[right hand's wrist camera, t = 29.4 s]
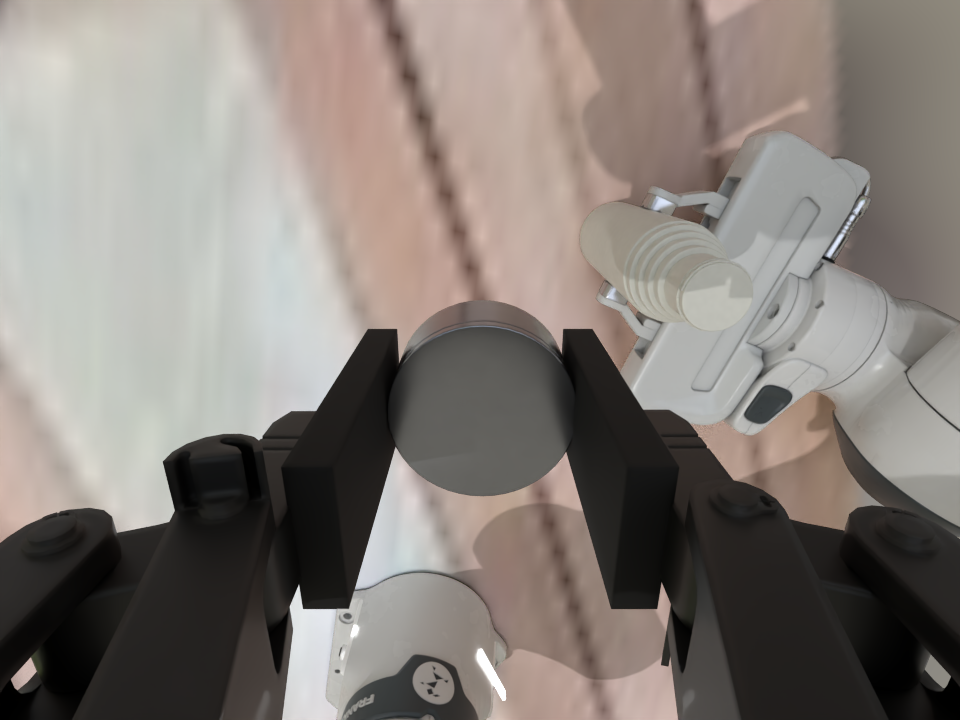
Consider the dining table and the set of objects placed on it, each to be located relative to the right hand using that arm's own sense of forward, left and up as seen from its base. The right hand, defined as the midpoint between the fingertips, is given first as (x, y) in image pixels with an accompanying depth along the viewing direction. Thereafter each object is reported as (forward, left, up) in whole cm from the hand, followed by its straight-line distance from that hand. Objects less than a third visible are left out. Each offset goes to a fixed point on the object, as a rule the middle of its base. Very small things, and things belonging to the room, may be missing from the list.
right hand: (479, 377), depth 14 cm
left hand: (-2, +9, -24) cm, 26 cm away
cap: (0, 0, +2) cm, 2 cm away
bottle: (-2, +10, -30) cm, 32 cm away
